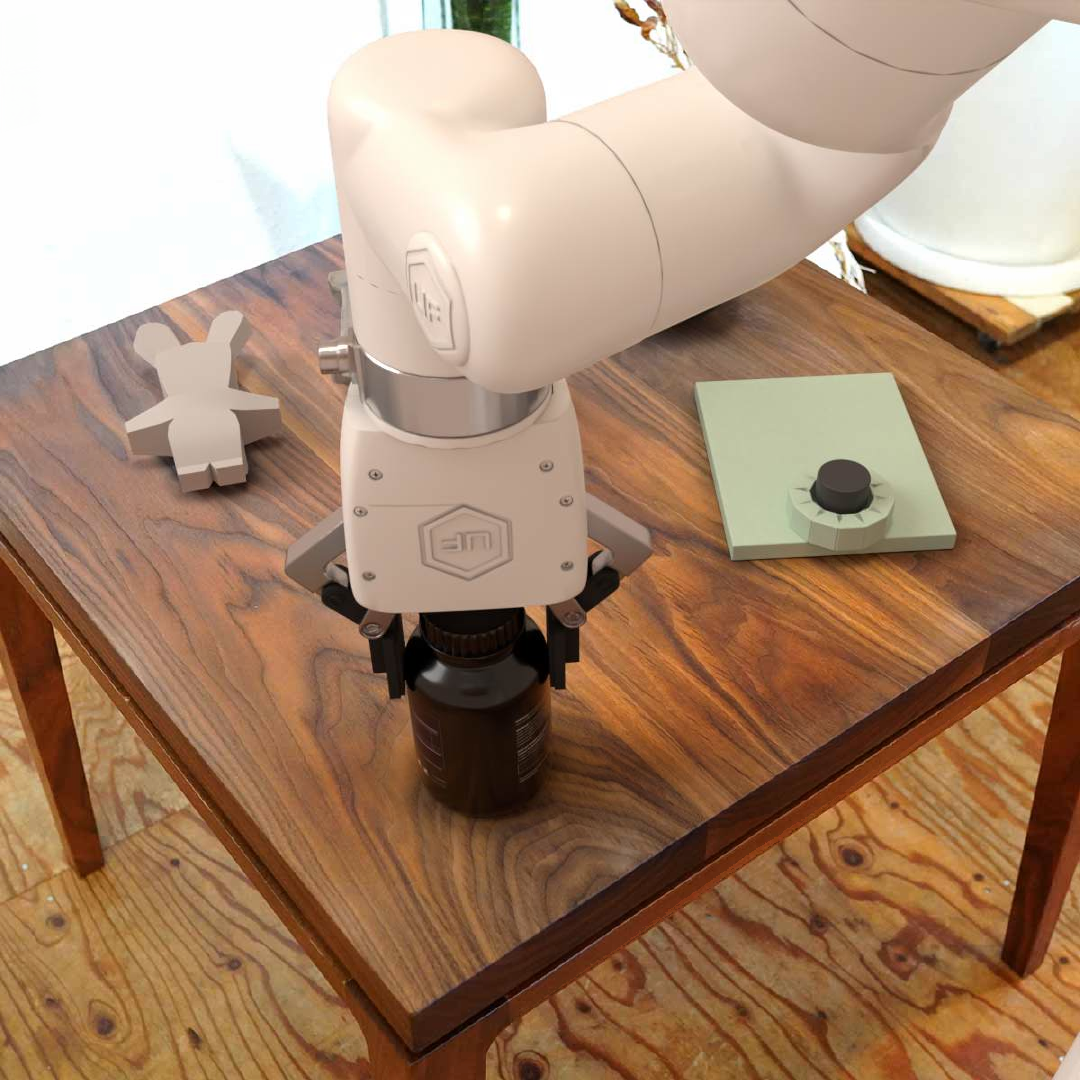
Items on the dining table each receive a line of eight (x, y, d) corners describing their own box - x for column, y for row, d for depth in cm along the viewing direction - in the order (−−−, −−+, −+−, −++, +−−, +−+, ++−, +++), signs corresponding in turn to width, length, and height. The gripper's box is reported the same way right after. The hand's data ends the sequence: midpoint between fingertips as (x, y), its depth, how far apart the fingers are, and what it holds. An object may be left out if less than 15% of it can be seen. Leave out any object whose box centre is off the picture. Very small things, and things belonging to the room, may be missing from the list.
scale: (958, 560, 84) (967, 521, 82) (733, 572, 84) (737, 533, 82) (889, 386, 97) (896, 348, 95) (694, 396, 97) (696, 358, 95)
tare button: (872, 514, 84) (876, 490, 82) (820, 517, 83) (823, 493, 82) (861, 480, 86) (864, 457, 85) (810, 483, 86) (813, 459, 84)
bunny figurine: (124, 464, 86) (111, 303, 96) (141, 522, 90) (127, 362, 99) (285, 437, 88) (256, 282, 97) (295, 495, 91) (266, 341, 101)
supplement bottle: (518, 699, 77) (511, 529, 69) (575, 792, 73) (575, 621, 64) (396, 744, 75) (374, 573, 67) (448, 842, 70) (431, 672, 62)
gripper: (221, 432, 54) (287, 744, 66) (689, 408, 55) (670, 722, 67) (240, 318, 60) (297, 625, 72) (665, 298, 60) (651, 606, 72)
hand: (477, 670), depth 69 cm, fingers closed on supplement bottle, 6 cm apart
